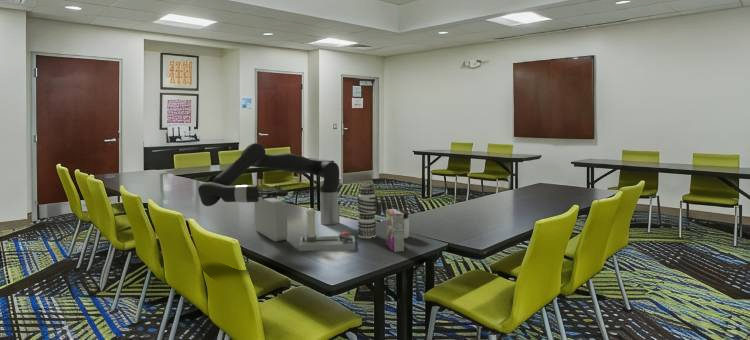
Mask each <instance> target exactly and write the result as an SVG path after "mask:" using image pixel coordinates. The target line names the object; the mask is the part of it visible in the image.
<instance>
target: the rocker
mask: <svg viewBox="0 0 750 340" xmlns="http://www.w3.org/2000/svg"><path fill="white" fill-rule="evenodd" d="M338 236H339V238H341V239H344V240H345V241H347V240H348V241H353V238H352V237H349V236H346V235H342V233H339V234H338Z"/></svg>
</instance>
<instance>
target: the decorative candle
mask: <svg viewBox="0 0 750 340" xmlns="http://www.w3.org/2000/svg"><path fill="white" fill-rule="evenodd" d="M375 190H376V187H375V186H374V185H373V184H372V183H362V184H360V186H359V187H358V197H357V213H358V215H359V216H358V223H357V224H358V225H357V227H358V232H357V234H358V238H360V239H373V238H372V237H374V238H376V237H375V236H377V235H376V234H377V228H376V227H377V225H376V224H377V222H376V213H377V212H376V211H377V208H375V207H377V201H376V200H377V197H376V191H375Z"/></svg>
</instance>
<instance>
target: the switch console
mask: <svg viewBox="0 0 750 340" xmlns="http://www.w3.org/2000/svg"><path fill="white" fill-rule="evenodd" d="M350 237H352V238H353V241H348V240H347V241H345V240H344V239H341V238H339V235H337V236H336V235H329V236H328V235H327V236H325V235H324V236H323V235H321V236H316V241H307V236H301V237H300V241H299V243H298V252H309V251H310V252H311V251H313V252H317V251H318V252H321V251H353V250H356V239H355V235H350Z"/></svg>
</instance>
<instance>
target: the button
mask: <svg viewBox="0 0 750 340" xmlns="http://www.w3.org/2000/svg"><path fill="white" fill-rule="evenodd" d="M350 233H351V232H350V231H341V234H342V235H346V236H349V237H350V236H351V235H350Z"/></svg>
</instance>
